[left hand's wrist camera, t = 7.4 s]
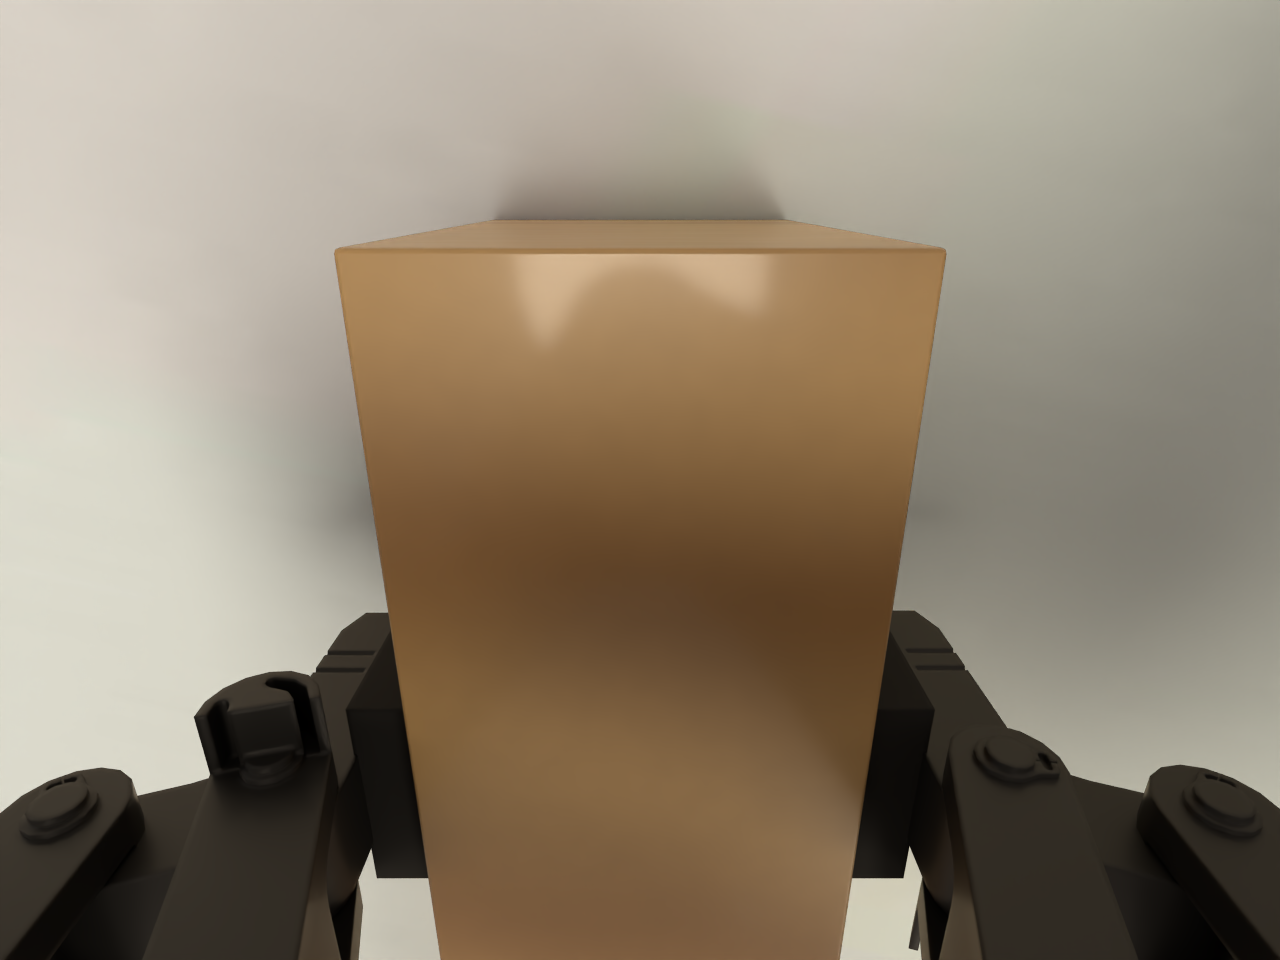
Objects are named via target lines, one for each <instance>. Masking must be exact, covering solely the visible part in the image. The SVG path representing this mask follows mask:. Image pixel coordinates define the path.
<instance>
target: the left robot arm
mask: <svg viewBox="0 0 1280 960" xmlns="http://www.w3.org/2000/svg"><path fill="white" fill-rule="evenodd" d="M194 719H195V723H196V726H197V730H198V733H199V737H200V740H201V744H202V747H203V751H204V754H205V758H206V761H207V765H208V768H209V772H210V776H209V778H208V779H205V780H201V781H198V782H195V783H191V784H187V785H183V786H179V787H174V788H170V789H165V790H161V791H157V792H152V793H148V794H144V795H139V796H137V794H136V791H135V788H134V785H133V782H132V779H131V778H130V777H128V776H127V775H126V774H125V773H123V772H122V771H121V770H115V769H108V768H95V769H89V770H82V771H76V772H73V773H70V774H67V775H64V776H62V777H59V778H56V779H53V780H50V781H48V782H46V783H44V784H43V785H41V786H39V787H37V788H35V789H33V790H32V791H30V792H28V793H26V794H24V795H23V796H21V797H20V798H19V799H17V800H16V801H15V802H14V803H12V804H11V805H10V806H9V807H7V808H6V809H5V810H4V811H3V812H1V813H0V960H358V959H359V947H360V935H361V924H362V912H363V904H362V898H361V892H360V887H359V882H358V879H359V877H360V874H361V872H362V869H363V867H364V865H365V862H366V860H367V857H368V855H369V852H370V850H371V849H372V854H373V859H374V865H375V870H376V875H377V878H428V872H427V865H426V859H425V852H424V845H423V839H422V832H421V825H420V819H419V812H418V806H417V799H416V792H415V786H414V779H413V772H412V766H411V759H410V753H409V746H408V739H407V733H406V726H405V719H404V713H403V706H402V700H401V693H400V686H399V680H398V673H397V666H396V660H395V653H394V647H393V640H392V633H391V627H390V620H389V613H365V614H364V615H363V616H361V617H360V618H359V619H357V620H356V621H354V622H353V623H352V624H350V625H349V626H347V627H346V628H345V629H343V630H342V631H341V632H340V634H339V635H338V637H337V638H336V640H335V641H334V643H333V644H332V646H331V647H330V649H329V650H328V655H325V656H324V657H323V659H322V660H321V662H320V663H319V665H318V666H317V668H316V673H313V674H312V675H311V676H309V675H305V674H301V673H297V672H293V671H283V672H268V673H264V674H260V675H256V676H252V677H248V678H245V679H243V680H241V681H238V682H236V683H234V684H232V685H230V686H228V687H225V688H223V689H222V690H221V691H219V692H218V693H217V694H215V695H214V696H212V697H211V698H210V699H208V700H207V701H206V702H205V703H204V704H203V705H202V707H201V708H200V709H199V711H198V712H197V714H196V715H195V716H194ZM909 846H910V848H911V850H912V853H913V855H914V858H915V860H916V863H917V865H918V867H919V870H920V872H921V875H922V882H921V887H920V892H919V897H918V902H917V907H916V911H915V916H914V921H913V926H912V931H911V937H910V943H909V948H910V949H914V950H918V948H919V943H920V945H921V957H922V960H1280V809H1279V808H1278V807H1277V806H1276V805H1274V804H1273V803H1272V802H1271V801H1269V800H1268V799H1267V798H1266V797H1264V796H1263V795H1262V794H1261V793H1259V792H1257V791H1255V790H1254V789H1252V788H1250V787H1248V786H1246V785H1244V784H1243V783H1241V782H1239V781H1237V780H1235V779H1233V778H1231V777H1228V776H1225V775H1223V774H1219V773H1217V772H1214V771H1211V770H1208V769H1205V768H1198V767H1192V766H1185V765H1175V766H1168V767H1161V768H1160V769H1158V770H1157V771H1156V772H1155V773H1153V774H1152V775H1151V776H1150V778H1149V780H1148V783H1147V786H1146V789H1145V792H1144V793H1141V792H1136V791H1132V790H1128V789H1123V788H1119V787H1114V786H1110V785H1106V784H1101V783H1097V782H1093V781H1089V780H1085V779H1082V778H1079V777H1075V776H1072V775H1070V773H1069V771H1068V770H1067V768H1066V767H1065V765H1064V763H1063V762H1062V760H1061V759H1060V757H1059V756H1057V755H1056V754H1055V753H1054V752H1053V751H1051V750H1050V749H1049V748H1048V747H1047V746H1046V745H1044V744H1043V743H1042V742H1040V741H1038V740H1036V739H1034V738H1032V737H1030V736H1028V735H1026V734H1024V733H1022V732H1020V731H1016V730H1013V729H1009V728H1007V727H1006V725H1005V724H1004V722H1003V721H1002V719H1001V718H1000V717H999V715H998V714H997V712H996V711H995V709H994V708H993V706H992V705H991V703H990V702H989V700H988V699H987V698H986V696H985V695H984V693H983V692H982V690H981V689H980V687H979V686H978V684H977V683H976V682H975V680H974V679H973V677H972V676H971V674H970V673H969V671H968V670H965V666H964V664H963V663H962V661H961V660H960V658H959V657H958V655H957V654H956V653H953V648H952V647H951V645H950V644H949V642H948V641H947V639H946V638H945V636H944V635H943V633H942V632H941V631H940V629H939V628H938V627H936V626H935V625H934V624H932V623H931V622H929V621H928V620H927V619H925V618H924V617H922V616H921V615H920V614H918V613H917V612H915V611H892V616H891V623H890V630H889V636H888V643H887V649H886V656H885V663H884V669H883V676H882V682H881V689H880V696H879V702H878V709H877V715H876V722H875V729H874V735H873V742H872V749H871V755H870V762H869V768H868V775H867V782H866V788H865V795H864V801H863V808H862V815H861V821H860V828H859V834H858V841H857V848H856V854H855V861H854V868H853V874H852V878H903V877H904V872H905V867H906V861H907V856H908V851H909Z"/></svg>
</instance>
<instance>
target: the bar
mask: <svg viewBox="0 0 1280 960" xmlns="http://www.w3.org/2000/svg"><path fill="white" fill-rule="evenodd" d="M334 255H335V262H336V269H337V275H338V282H339V289H340V295H341V302H342V308H343V315H344V322H345V328H346V335H347V342H348V348H349V355H350V362H351V368H352V375H353V381H354V388H355V395H356V401H357V408H358V415H359V421H360V428H361V434H362V441H363V448H364V454H365V461H366V468H367V474H368V481H369V487H370V494H371V501H372V507H373V514H374V521H375V527H376V534H377V540H378V547H379V554H380V560H381V567H382V574H383V580H384V587H385V593H386V600H387V607H388V613H389V620H390V627H391V633H392V640H393V647H394V653H395V660H396V666H397V673H398V680H399V686H400V693H401V700H402V706H403V713H404V719H405V726H406V733H407V739H408V746H409V753H410V759H411V766H412V772H413V779H414V786H415V792H416V799H417V806H418V812H419V819H420V825H421V832H422V839H423V845H424V852H425V859H426V865H427V872H428V878H429V885H430V892H431V898H432V905H433V912H434V918H435V925H436V932H437V938H438V945H439V951H440V958H441V960H840V953H841V947H842V940H843V934H844V927H845V920H846V914H847V907H848V901H849V894H850V887H851V881H852V874H853V868H854V861H855V854H856V848H857V841H858V834H859V828H860V821H861V815H862V808H863V801H864V795H865V788H866V782H867V775H868V768H869V762H870V755H871V749H872V742H873V735H874V729H875V722H876V715H877V709H878V702H879V696H880V689H881V682H882V676H883V669H884V663H885V656H886V649H887V643H888V636H889V630H890V623H891V616H892V610H893V603H894V596H895V590H896V583H897V577H898V570H899V563H900V557H901V550H902V544H903V537H904V530H905V524H906V517H907V510H908V504H909V497H910V491H911V484H912V477H913V471H914V464H915V458H916V451H917V444H918V438H919V431H920V425H921V418H922V411H923V405H924V398H925V391H926V385H927V378H928V372H929V365H930V358H931V352H932V345H933V339H934V332H935V325H936V319H937V312H938V306H939V299H940V292H941V286H942V279H943V272H944V266H945V259H946V250H945V249H943V248H940V247H934V246H929V245H923V244H918V243H912V242H907V241H901V240H895V239H890V238H884V237H879V236H873V235H868V234H862V233H856V232H851V231H845V230H840V229H834V228H829V227H823V226H817V225H812V224H806V223H801V222H795V221H790V220H490V221H485V222H479V223H474V224H468V225H463V226H457V227H451V228H446V229H440V230H435V231H429V232H424V233H418V234H413V235H407V236H402V237H396V238H390V239H385V240H379V241H374V242H368V243H363V244H357V245H352V246H346V247H340V248H338V249H336V250H335V253H334Z"/></svg>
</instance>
